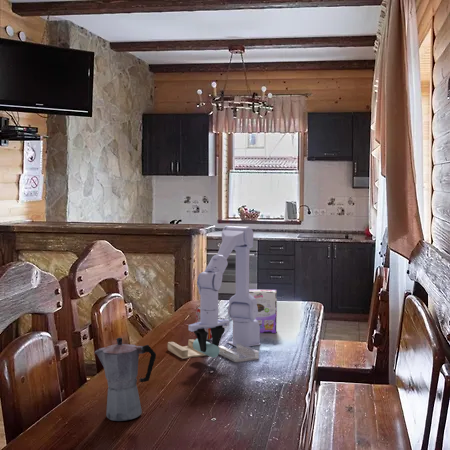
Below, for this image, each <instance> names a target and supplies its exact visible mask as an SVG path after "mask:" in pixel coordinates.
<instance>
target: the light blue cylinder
mask: <svg viewBox="0 0 450 450" xmlns="http://www.w3.org/2000/svg"><path fill="white" fill-rule="evenodd" d="M218 346H219V345H218ZM218 346H216V345H214V344H212V342H209V341H208V340H207V341H206V352H202V351H201V350H200V345H199V342H198V339H197V338H195V339H194V342H193V348H194V349H195V350H197V351H199V352H201V353H203V354H205V355H204V356H208V357H210V358H217V357H218V356H219V355H220V354H219V351H220V350H219V347H218Z"/></svg>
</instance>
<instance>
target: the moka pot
mask: <svg viewBox="0 0 450 450" xmlns="http://www.w3.org/2000/svg"><path fill="white" fill-rule="evenodd" d="M146 353H149V354H150V357H149V362H148V365H147V371H146V374H145V377H142V378H139V382H140V383H144V382H149V381H150V377H151V375H152V370H153V367H154V365H155V362H156V357H157V353H156V352H155V351H154V349H152V347H151V346H150V345H149V344H146V345H136V344H129V343H123V338H122V337H118V338H116V344H112V345H108V346H106V347H100V348H98V349H96V350H95V351H94V354H95V355H97V357H98V359H99V362H100V363H101V365H102V366H103V367H102V368H103V369H104V374H105V379H106V381H107V387H108V388H107V397H106V398H107V399H106V415H105V416H106V418H107V419H108V420H110V421H115V422H124V421H125V422H126V421H130V420H134V419H136V418H138V417H140V416H141V415H142V414H143V411H142V407H141V401H140V396H139V390H138V386H137V382H138V379H137V377H138V374H139V373H138V372H139V357H140V355H143V354H146Z"/></svg>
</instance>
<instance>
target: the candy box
mask: <svg viewBox="0 0 450 450" xmlns="http://www.w3.org/2000/svg"><path fill="white" fill-rule="evenodd" d="M249 293H250V294H251V295H252V296H253V297H254V298H256V301H257V307H258V314H257V317H256V320H257V321H258V323H259V326H260V334H276V333H277V323H278V322H277V321H278V320H277V317H278V316H277V315H278V308H277V307H278V303H277V302H278V299H277V298H278V297H277V294H278V293H277V289H250V288H249Z"/></svg>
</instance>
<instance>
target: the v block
mask: <svg viewBox="0 0 450 450" xmlns="http://www.w3.org/2000/svg"><path fill="white" fill-rule="evenodd" d="M218 347H219V350H220V351H219V354H218V355H220V356H222V357H224V358H226V359H227V360H230V361H232V362H234V363H240V362H242V363H243V362H246V361H247V362H248V361H253V360H258V359H259V358H260V355H259V353H260V352H259V351H260V350H257V349H254V348H252V347H251V346H249V347H248V346H246V345H244V344H242V343H237V347H234V348H228V347H226V346H224V345H218Z"/></svg>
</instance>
